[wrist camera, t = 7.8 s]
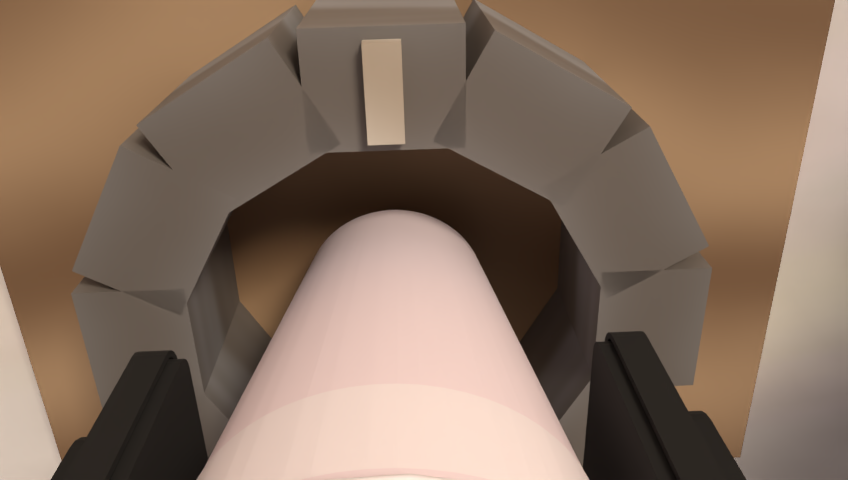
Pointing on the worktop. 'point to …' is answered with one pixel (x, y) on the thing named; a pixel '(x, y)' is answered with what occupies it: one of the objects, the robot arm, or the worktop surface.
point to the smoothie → (394, 371)
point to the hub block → (400, 177)
